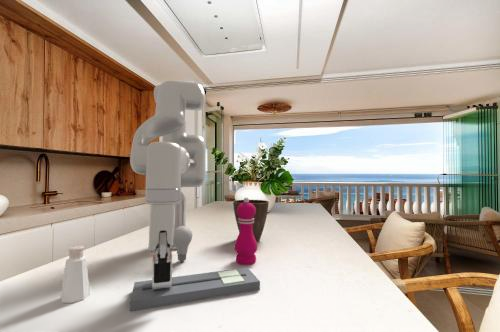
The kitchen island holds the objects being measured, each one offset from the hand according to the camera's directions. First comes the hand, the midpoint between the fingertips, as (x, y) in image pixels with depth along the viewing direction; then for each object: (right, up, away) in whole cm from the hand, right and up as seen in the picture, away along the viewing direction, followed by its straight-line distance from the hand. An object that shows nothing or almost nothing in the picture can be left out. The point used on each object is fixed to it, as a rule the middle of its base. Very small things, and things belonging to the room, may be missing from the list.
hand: (162, 273), depth 55 cm
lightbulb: (-1, -6, +21) cm, 22 cm away
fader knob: (0, -3, 0) cm, 3 cm away
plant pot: (+20, -7, +47) cm, 52 cm away
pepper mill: (+19, -6, +22) cm, 30 cm away
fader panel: (+7, -5, +3) cm, 9 cm away
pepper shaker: (-19, -5, -1) cm, 20 cm away
